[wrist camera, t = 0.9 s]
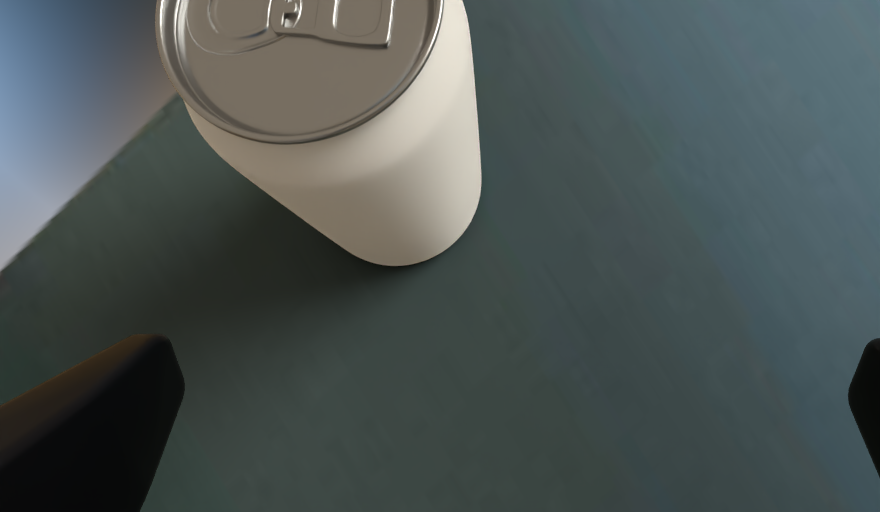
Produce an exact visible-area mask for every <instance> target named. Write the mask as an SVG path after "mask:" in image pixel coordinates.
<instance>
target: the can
mask: <svg viewBox="0 0 880 512" xmlns="http://www.w3.org/2000/svg"><path fill="white" fill-rule="evenodd" d="M155 29H156V39H157V45H158V50H159V54H160V58H161V61H162V64H163V66H164V69H165V71H166V73H167V75H168V77H169V79H170V81H171V83H172V84H173V86H174V88H175V89H176V91H177V92H178V93H179V95H180V96H181V97H182V98H183V100H184V103H185V105H186V108H187V110H188V112H189V115H190V117H191V119H192V121H193V123H194V124H195V126H196V128H197V129H198V131H199V132H200V134H201V135H202V136H203V138H204V139H205V140H206V141H207V143H208V144H209V145H210V146H211V147H212V148H213V149H214V150H215V151H216V152H217V154H218V155H219V156H221V157H222V158H223V159H224V160H225V161H226V162H227V163H228V164H230V165H231V166H232V167H233V168H235V169H236V170H237V171H238V172H239V173H241V174H242V175H243V176H245V177H246V178H247V179H249V180H250V181H251V182H253V183H254V184H255V185H257V186H258V187H259V188H261V189H262V190H263V191H265V192H266V193H267V194H269V195H270V196H271V197H273V198H274V199H276V200H277V201H278V202H280V203H281V204H282V205H284V206H285V207H286V208H288V209H289V210H291V211H292V212H293V213H295V214H296V215H297V216H299V217H300V218H302V219H303V220H304V221H306V222H307V223H308V224H310V225H311V226H313V227H314V228H315V229H317V230H318V231H320V232H321V233H322V234H324V235H325V236H326V237H328V238H329V239H331V240H332V241H334V242H335V243H336V244H338V245H339V246H341V247H342V248H344V249H345V250H347V251H348V252H350V253H351V254H353V255H355V256H357V257H359V258H361V259H363V260H366V261H369V262H372V263H375V264H380V265H387V266H404V265H411V264H415V263H419V262H422V261H425V260H428V259H430V258H432V257H434V256H436V255H438V254H440V253H441V252H443V251H444V250H446V249H447V248H449V247H450V246H451V245H452V244H453V243H454V242H455V241H456V240H457V239H458V238H459V237H460V236H461V235H462V234H463V233H464V231H465V230H466V228H467V227H468V225H469V224H470V222H471V220H472V218H473V216H474V214H475V211H476V209H477V206H478V202H479V198H480V192H481V161H480V146H479V132H478V119H477V106H476V94H475V81H474V69H473V59H472V48H471V40H470V32H469V25H468V20H467V15H466V12H465V8H464V4H463V1H462V0H157V5H156V16H155Z"/></svg>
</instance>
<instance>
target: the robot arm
mask: <svg viewBox="0 0 880 512" xmlns="http://www.w3.org/2000/svg"><path fill="white" fill-rule="evenodd" d="M184 391H185V383H184V378H183V375H182V372H181V369H180V366H179V364H178V361H177V358H176V355H175V353H174V350H173V347H172V344H171V342H170V340H169V339H168V338H167V337H166V336H165V335H162V334H135V335H131V336H129V337H127V338H126V339H124V340H122V341H120V342H118V343H116V344H114V345H113V346H111V347H109V348H107V349H105V350H103V351H101V352H100V353H98V354H96V355H94V356H92V357H90V358H88V359H87V360H85V361H83V362H81V363H79V364H77V365H75V366H73V367H72V368H70V369H68V370H66V371H64V372H62V373H60V374H59V375H57V376H55V377H53V378H51V379H49V380H47V381H46V382H44V383H42V384H40V385H38V386H36V387H34V388H33V389H31V390H29V391H27V392H25V393H23V394H21V395H20V396H18V397H16V398H14V399H12V400H10V401H8V402H7V403H5V404H3V405H1V406H0V512H140V510H141V507H142V505H143V503H144V501H145V499H146V496H147V494H148V491H149V489H150V486H151V484H152V481H153V478H154V476H155V473H156V470H157V468H158V465H159V462H160V459H161V457H162V454H163V451H164V448H165V446H166V443H167V440H168V438H169V435H170V432H171V429H172V427H173V424H174V421H175V418H176V416H177V413H178V410H179V408H180V405H181V402H182V399H183V396H184ZM848 400H849V405H850V408H851V411H852V414H853V416H854V418H855V421H856V423H857V425H858V428H859V430H860V432H861V435H862V437H863V439H864V442H865V444H866V447H867V449H868V451H869V454H870V456H871V458H872V461H873V463H874V465H875V468H876V470H877V472H878V475H879V477H880V338H877V339H874V340H872V341H870V342H869V343H868V344H867V345H866V347H865V349H864V352H863V354H862V357H861V359H860V362H859V364H858V367H857V369H856V372H855V374H854V377H853V379H852V382H851V384H850V387H849V393H848Z"/></svg>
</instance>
